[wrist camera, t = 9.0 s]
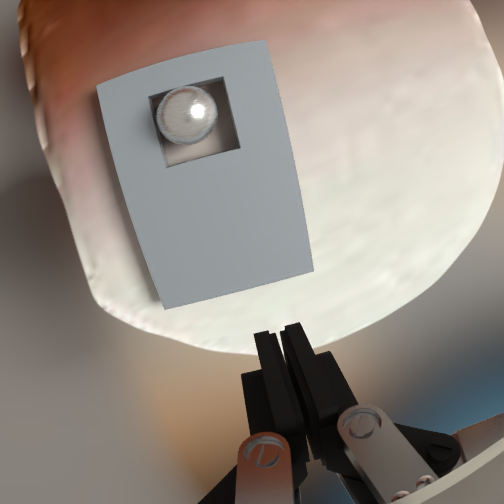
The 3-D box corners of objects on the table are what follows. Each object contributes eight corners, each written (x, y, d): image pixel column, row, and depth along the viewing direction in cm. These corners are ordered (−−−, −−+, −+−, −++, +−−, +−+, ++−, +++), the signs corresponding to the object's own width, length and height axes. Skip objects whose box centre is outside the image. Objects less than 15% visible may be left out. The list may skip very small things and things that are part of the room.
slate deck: (103, 88, 23) (96, 85, 21) (261, 46, 23) (265, 39, 21) (166, 300, 31) (164, 309, 29) (308, 263, 31) (314, 271, 29)
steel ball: (150, 107, 19) (169, 163, 22) (218, 86, 19) (230, 144, 23) (147, 90, 22) (163, 138, 26) (204, 73, 22) (215, 121, 26)
